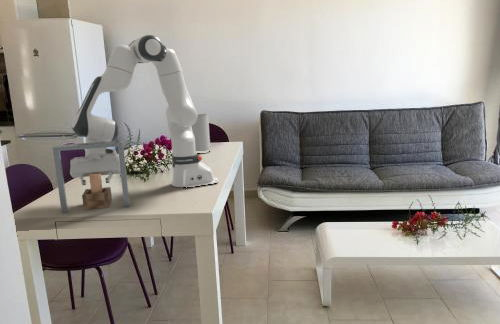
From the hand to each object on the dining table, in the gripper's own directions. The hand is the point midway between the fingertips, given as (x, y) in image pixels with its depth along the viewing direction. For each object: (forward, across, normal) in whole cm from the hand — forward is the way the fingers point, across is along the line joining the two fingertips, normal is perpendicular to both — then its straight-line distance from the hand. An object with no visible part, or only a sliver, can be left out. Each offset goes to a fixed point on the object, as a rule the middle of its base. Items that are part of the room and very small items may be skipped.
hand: (95, 183), depth 179 cm
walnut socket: (+6, 0, +7) cm, 9 cm away
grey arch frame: (+9, 0, +4) cm, 10 cm away
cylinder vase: (-67, +53, +81) cm, 117 cm away
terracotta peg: (+6, 0, +6) cm, 8 cm away
